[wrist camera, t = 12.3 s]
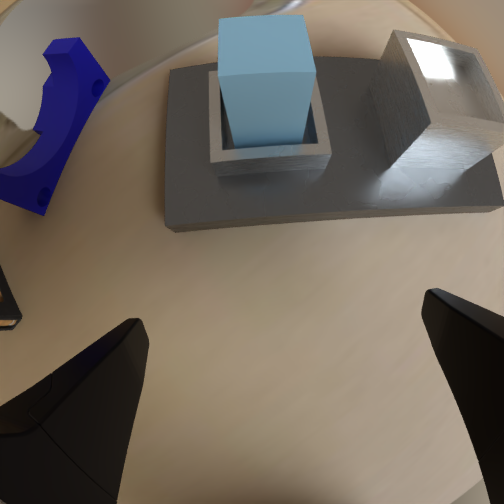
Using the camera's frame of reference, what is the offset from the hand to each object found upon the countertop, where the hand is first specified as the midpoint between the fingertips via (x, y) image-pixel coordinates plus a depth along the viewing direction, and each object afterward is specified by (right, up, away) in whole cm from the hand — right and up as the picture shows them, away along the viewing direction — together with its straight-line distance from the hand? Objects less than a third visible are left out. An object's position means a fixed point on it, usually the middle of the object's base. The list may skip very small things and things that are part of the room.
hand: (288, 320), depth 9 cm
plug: (0, +9, +8) cm, 12 cm away
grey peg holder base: (+5, +9, +10) cm, 15 cm away
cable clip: (-17, +11, +12) cm, 23 cm away
